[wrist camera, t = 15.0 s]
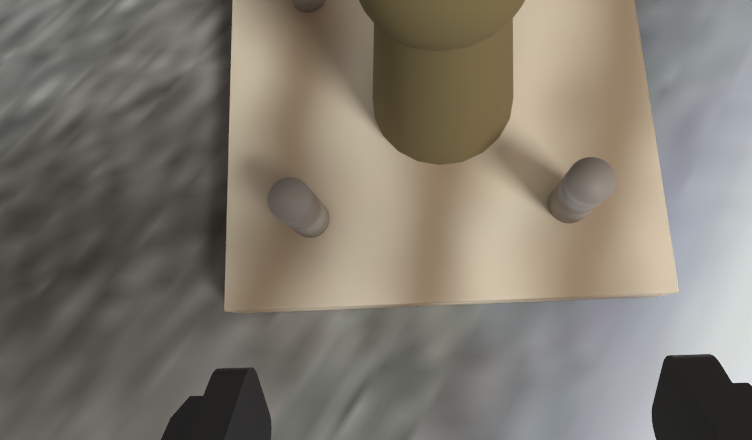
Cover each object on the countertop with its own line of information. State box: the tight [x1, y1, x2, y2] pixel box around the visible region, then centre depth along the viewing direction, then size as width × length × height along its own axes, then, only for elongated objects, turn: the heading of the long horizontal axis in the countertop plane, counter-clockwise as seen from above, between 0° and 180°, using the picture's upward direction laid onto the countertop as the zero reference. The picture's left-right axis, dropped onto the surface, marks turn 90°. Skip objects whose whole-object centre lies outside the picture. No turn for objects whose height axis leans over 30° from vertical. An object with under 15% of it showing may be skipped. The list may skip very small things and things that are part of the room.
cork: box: [359, 0, 525, 165], centre depth 18 cm, size 6×6×11 cm
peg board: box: [224, 0, 679, 313], centre depth 23 cm, size 18×18×6 cm
